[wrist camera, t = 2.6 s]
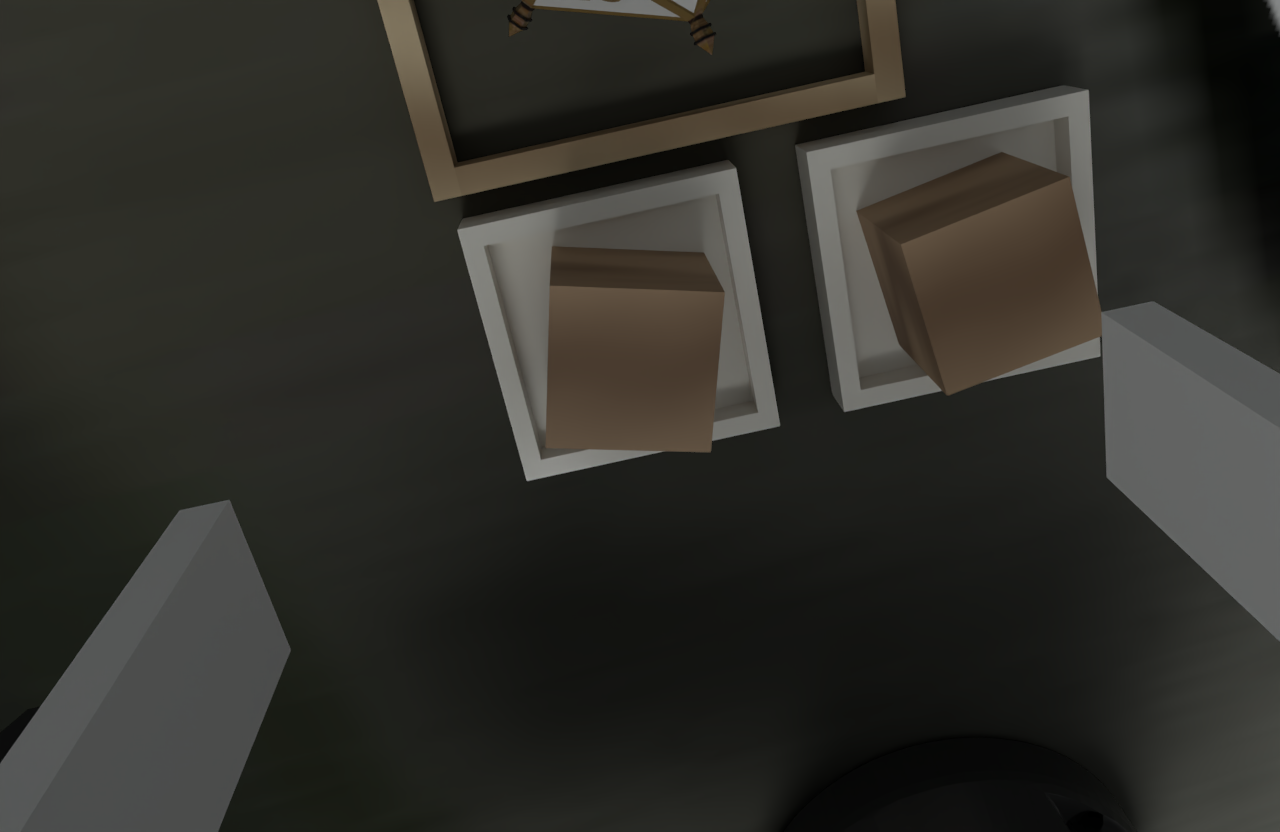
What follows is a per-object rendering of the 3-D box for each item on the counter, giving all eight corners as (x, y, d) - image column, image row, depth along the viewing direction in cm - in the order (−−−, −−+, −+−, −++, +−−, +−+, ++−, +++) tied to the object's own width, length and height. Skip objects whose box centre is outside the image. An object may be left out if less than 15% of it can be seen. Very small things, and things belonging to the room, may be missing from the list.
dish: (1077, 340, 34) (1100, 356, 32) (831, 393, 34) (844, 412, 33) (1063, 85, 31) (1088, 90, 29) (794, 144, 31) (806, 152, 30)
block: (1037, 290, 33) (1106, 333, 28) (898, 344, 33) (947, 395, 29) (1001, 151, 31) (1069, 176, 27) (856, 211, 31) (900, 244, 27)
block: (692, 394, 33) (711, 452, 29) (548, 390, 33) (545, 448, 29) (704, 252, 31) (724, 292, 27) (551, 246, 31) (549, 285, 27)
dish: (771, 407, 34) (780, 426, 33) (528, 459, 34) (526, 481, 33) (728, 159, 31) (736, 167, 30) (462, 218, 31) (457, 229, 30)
